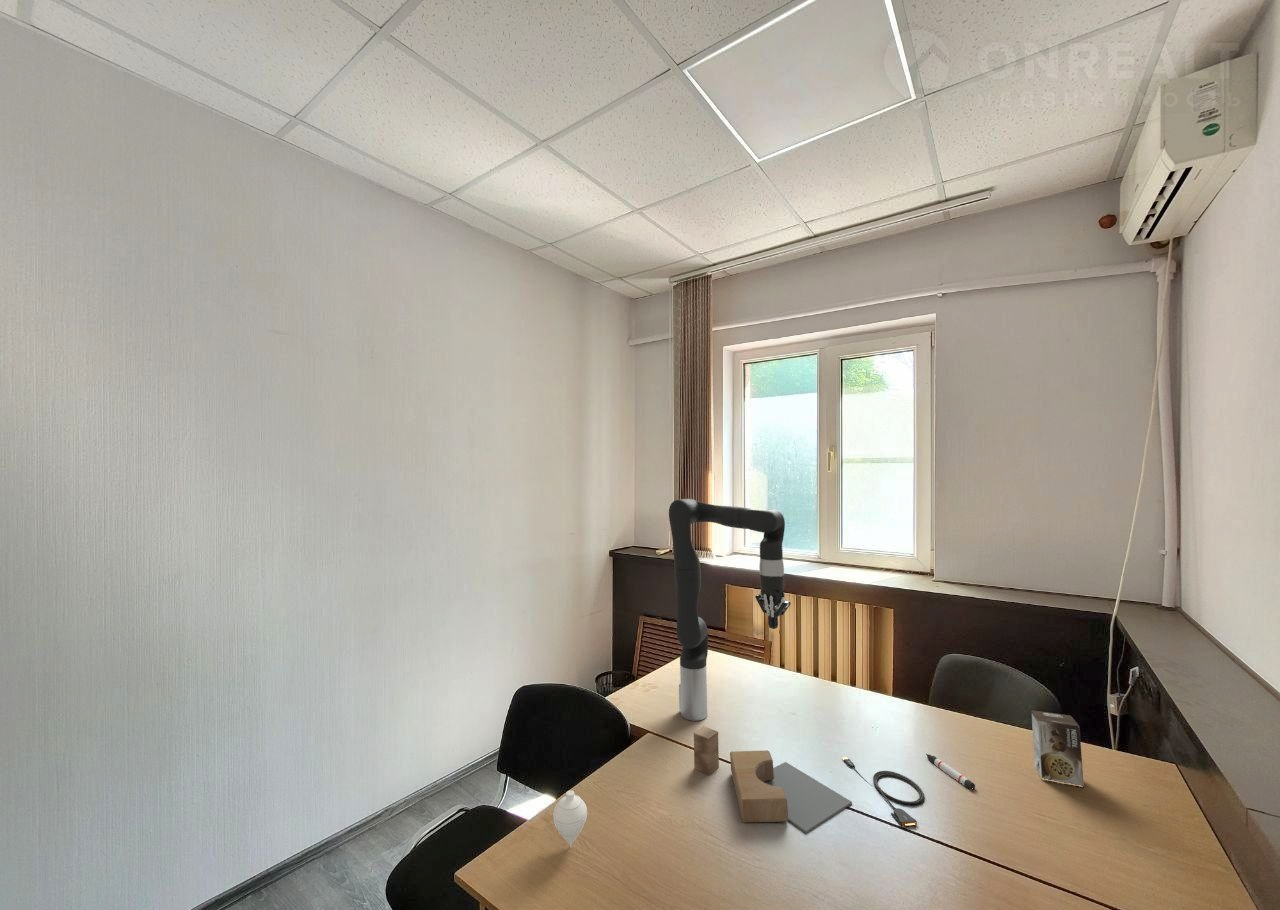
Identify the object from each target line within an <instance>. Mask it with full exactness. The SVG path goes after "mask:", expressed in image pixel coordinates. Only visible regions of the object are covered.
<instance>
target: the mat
mask: <svg viewBox="0 0 1280 910" xmlns="http://www.w3.org/2000/svg"><path fill="white" fill-rule="evenodd" d="M773 772H774V779H773V780H769V781H765V782H764V783H766V784H769V785H771V786H779V787H782V788H783V790H784V793H785V796H786V799H787V808H788V821H787V822H790V823H791V824H792V825H794V827H796V828H798V829H799V830H800V831H802V832H803V833H804V834H808V833H809V832H811V831H812V830H814V829H815V828H817V827H819V826H820V825H822V824H823V823H824V822H826V821H827V820H829V819H831V818H833V816H835V815H838V814H839V813H840V812H841V811H843V810H844V809H847V808H848V807H849V806H851V805H853V802H852V801H851V800H850V799H848V798H846V797H844V796H843V795H842V794H839V793H838V792H836V791H835V790H833V789H832V788H830V787H828V786H826V785H825V784H823V783H821V782H820V781H818V780H817V779H815V778H813V777H811V776H810V775H808V774H807V773H805V772H803V771H801V770H800V769H798V768H797V767H795V766H793V765H792V764H790V763H789V762H787V761H784V762H782V763H780V764H779V765H777V766H775V767H774V766H773Z"/></svg>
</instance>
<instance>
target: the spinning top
mask: <svg viewBox="0 0 1280 910" xmlns="http://www.w3.org/2000/svg"><path fill="white" fill-rule="evenodd" d="M552 818H553V823H554V825H555V828H556V830H557V832H558V833H559V834H560V836H561V837H562V838H563V839H564V840H565V841H566V842H567V843H568V844H569V848H572V844H573V843H574V841H575V840H576V839H577V837H579V835H580V833H581V831H582V830H583V828H584V826H585V824H586V821H587V818H588V807H587V805H586V803H585V801H584V800H583V799H582V798H581V797H580V796H579V795H577V794H575V791H574V790H570V789H569V790H568V791H566V793H565V796H563V797H561V798H560V800H559V801H558V802H557V803H556V805H555V807H554V810H553V814H552Z"/></svg>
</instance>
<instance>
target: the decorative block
mask: <svg viewBox="0 0 1280 910" xmlns="http://www.w3.org/2000/svg"><path fill="white" fill-rule="evenodd" d="M729 756H730V757H729V759H730V771H731V775H732V780H733V781H732V782H733V785H734V790H735V794H736V799H737V803H738V808H739V813H740V817H741V821H742V822H743V823H770V822H771V823H775V822H777V823H780V822H789V821H788V808H787V799H786V796H785V793H784V790H783V788H782V787H779V786H771V785H769V784H766V783H764V782H765V781H769V780H773V779H774V772H773V768H774V760H773V757H772V754H771V752H770V750H738V751H730V753H729Z"/></svg>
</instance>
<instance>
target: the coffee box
mask: <svg viewBox="0 0 1280 910" xmlns="http://www.w3.org/2000/svg"><path fill="white" fill-rule="evenodd" d="M1030 712H1031V725H1032V728H1031V729H1032V743H1033V745H1032V746H1033V758H1034V759H1033V760H1034V761H1033V762H1034V763H1033V764H1034V768H1035V767H1036V769H1037V771H1038V773H1039V774H1040V776H1041V778H1044V779H1048V780H1054V781H1059V782H1064V783H1071V784H1075V785H1081V786H1084V785H1085V784H1084V782H1085V781H1084V771H1083V757H1082V756H1083V755H1082V745H1081V744H1082V742H1081V741H1082V740H1081V729H1080V728H1081V727H1080V725H1079V724H1078V722H1077V721H1076V720H1075V719H1074V718H1073V716H1071V715H1070V714H1062V713H1053V712H1047V711H1039V710H1034V709H1033V710H1031V711H1030ZM1036 769H1035V770H1036ZM1037 771H1036V772H1037ZM1038 773H1037V774H1038ZM1041 778H1040V779H1041ZM1084 787H1085V786H1084Z"/></svg>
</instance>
